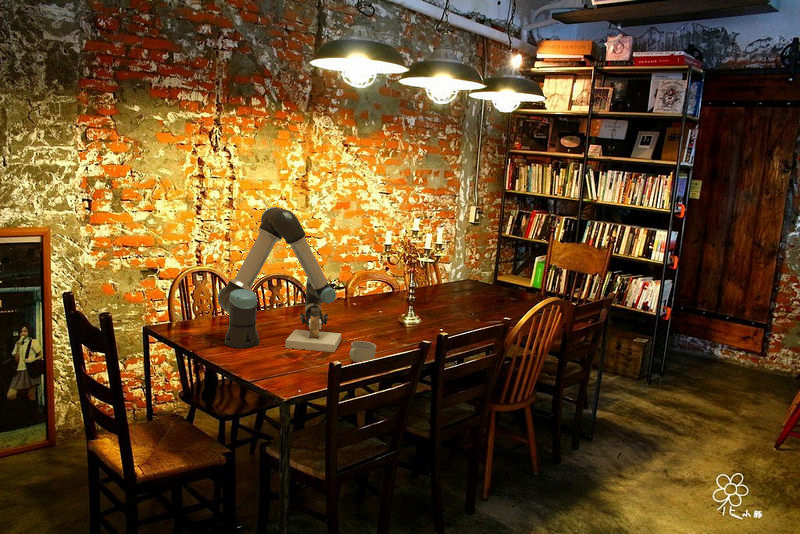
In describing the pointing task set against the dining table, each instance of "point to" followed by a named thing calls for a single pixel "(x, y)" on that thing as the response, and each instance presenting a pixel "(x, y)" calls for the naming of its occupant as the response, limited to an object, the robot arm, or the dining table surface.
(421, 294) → the dining table surface
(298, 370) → the dining table surface
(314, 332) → the plug
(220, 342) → the dining table surface
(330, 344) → the beige socket block
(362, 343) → the teacup
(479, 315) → the dining table surface
